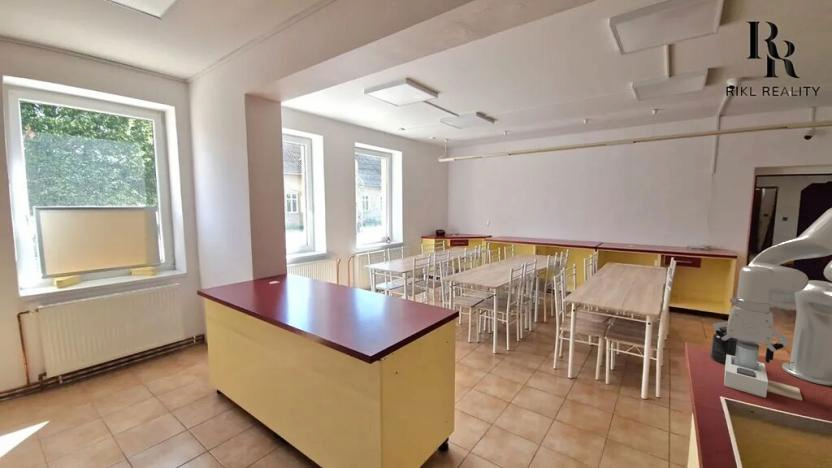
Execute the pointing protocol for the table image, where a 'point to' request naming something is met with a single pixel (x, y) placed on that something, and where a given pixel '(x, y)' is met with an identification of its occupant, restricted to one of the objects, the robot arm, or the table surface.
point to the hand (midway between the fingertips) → (745, 356)
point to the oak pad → (784, 390)
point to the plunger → (745, 372)
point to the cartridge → (746, 354)
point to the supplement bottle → (718, 352)
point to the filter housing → (746, 378)
